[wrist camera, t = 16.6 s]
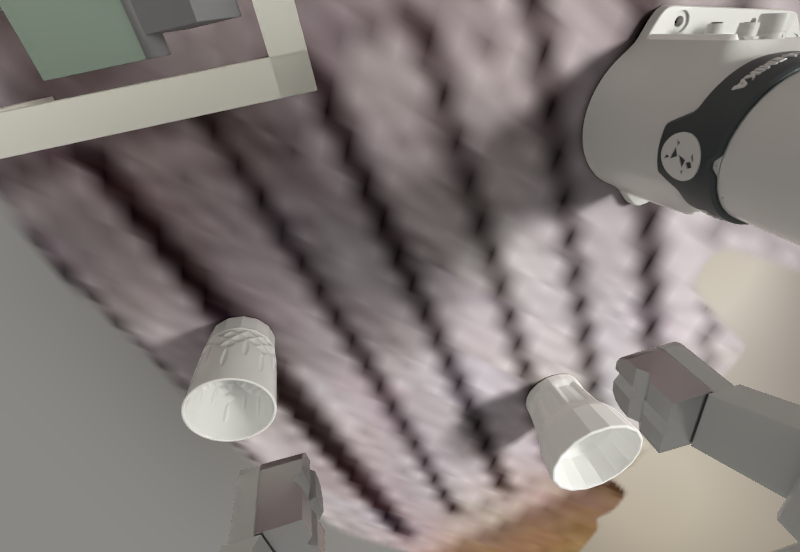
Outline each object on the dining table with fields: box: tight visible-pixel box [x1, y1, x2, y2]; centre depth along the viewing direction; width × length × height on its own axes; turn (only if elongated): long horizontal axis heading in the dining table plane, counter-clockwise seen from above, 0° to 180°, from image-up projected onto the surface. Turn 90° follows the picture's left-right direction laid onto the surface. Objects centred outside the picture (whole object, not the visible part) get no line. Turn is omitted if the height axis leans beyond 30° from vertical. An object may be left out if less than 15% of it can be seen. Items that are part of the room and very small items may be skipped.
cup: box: [526, 374, 643, 491], centre depth 56 cm, size 12×12×11 cm
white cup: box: [181, 316, 277, 442], centre depth 40 cm, size 8×8×10 cm
